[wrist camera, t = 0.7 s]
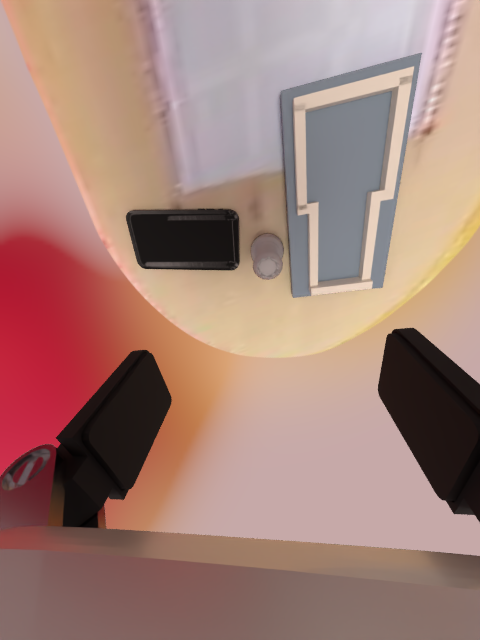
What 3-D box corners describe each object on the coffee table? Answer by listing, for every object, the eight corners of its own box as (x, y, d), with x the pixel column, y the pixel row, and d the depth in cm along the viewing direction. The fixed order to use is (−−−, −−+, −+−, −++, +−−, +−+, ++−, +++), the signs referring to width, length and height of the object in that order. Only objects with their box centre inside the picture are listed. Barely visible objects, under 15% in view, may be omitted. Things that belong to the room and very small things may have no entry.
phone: (239, 270, 31) (138, 268, 33) (239, 267, 32) (142, 266, 34) (238, 208, 27) (123, 209, 28) (238, 208, 28) (128, 209, 29)
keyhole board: (280, 96, 22) (282, 82, 19) (411, 61, 20) (437, 39, 17) (291, 293, 33) (294, 304, 30) (377, 283, 31) (389, 293, 28)
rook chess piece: (265, 225, 29) (265, 237, 22) (290, 247, 30) (298, 265, 23) (244, 252, 31) (238, 271, 24) (268, 271, 32) (269, 295, 25)
